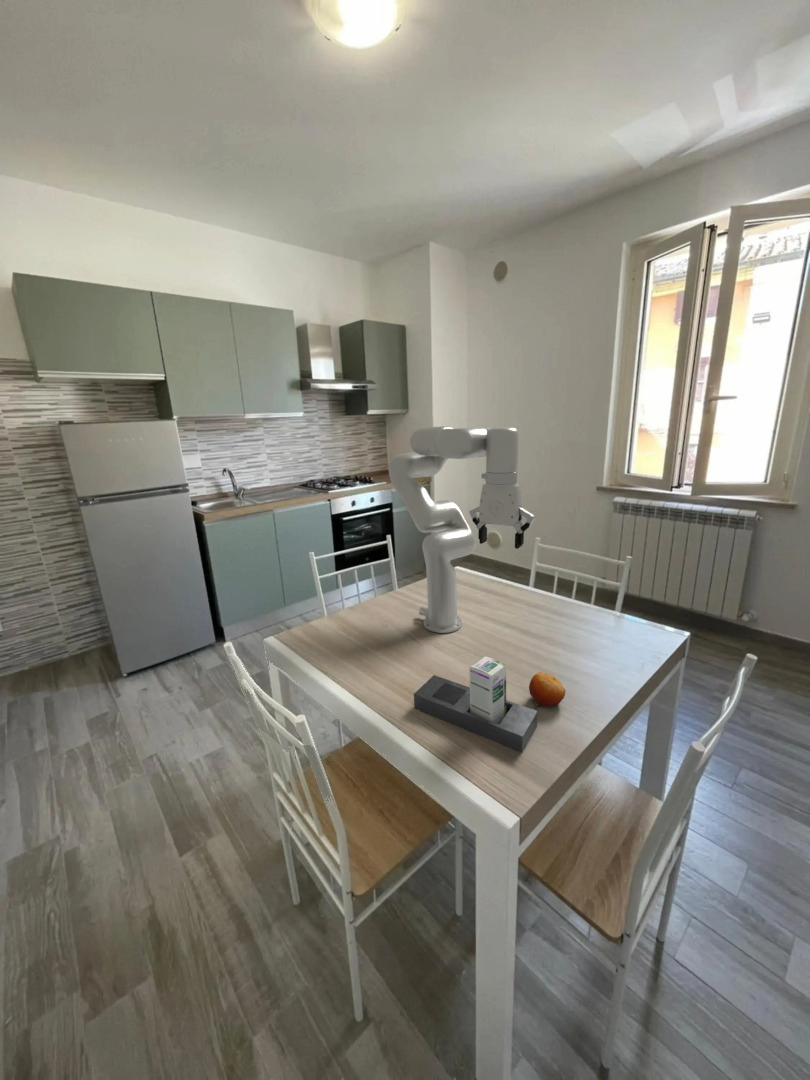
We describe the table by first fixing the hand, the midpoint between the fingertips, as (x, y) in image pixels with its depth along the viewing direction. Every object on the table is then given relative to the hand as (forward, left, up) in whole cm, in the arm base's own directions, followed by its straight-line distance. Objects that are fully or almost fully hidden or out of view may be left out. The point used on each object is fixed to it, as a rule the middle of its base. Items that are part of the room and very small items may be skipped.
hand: (500, 544), depth 110 cm
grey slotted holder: (+5, -26, -33) cm, 42 cm away
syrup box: (+9, -26, -33) cm, 43 cm away
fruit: (+17, -12, -34) cm, 39 cm away
